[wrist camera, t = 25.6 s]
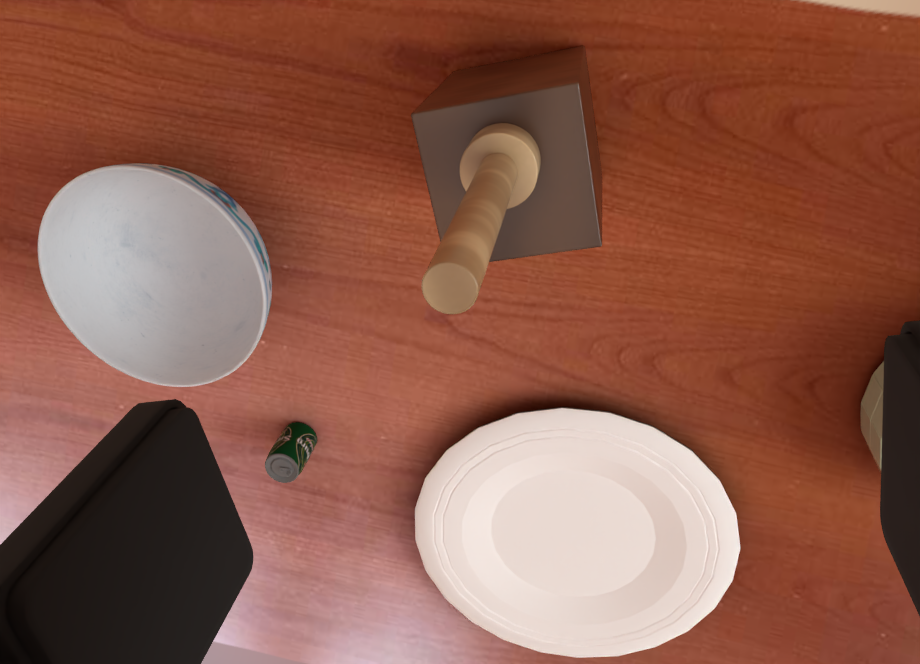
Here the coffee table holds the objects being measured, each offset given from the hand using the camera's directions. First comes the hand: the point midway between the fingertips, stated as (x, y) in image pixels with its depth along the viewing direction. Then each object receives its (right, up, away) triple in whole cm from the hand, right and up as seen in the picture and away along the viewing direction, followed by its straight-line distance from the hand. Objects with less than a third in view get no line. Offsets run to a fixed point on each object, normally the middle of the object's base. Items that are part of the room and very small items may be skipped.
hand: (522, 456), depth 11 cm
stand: (+3, +14, +38) cm, 41 cm away
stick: (+1, +10, +27) cm, 29 cm away
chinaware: (-19, +8, +45) cm, 50 cm away
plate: (+8, -14, +52) cm, 55 cm away
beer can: (-13, -6, +52) cm, 54 cm away
